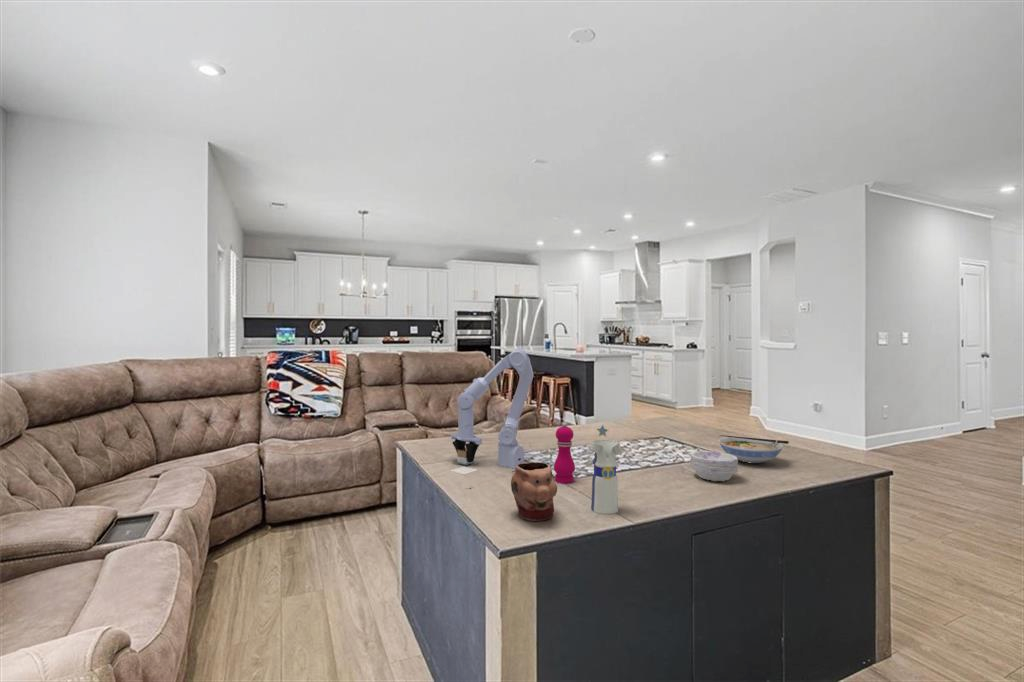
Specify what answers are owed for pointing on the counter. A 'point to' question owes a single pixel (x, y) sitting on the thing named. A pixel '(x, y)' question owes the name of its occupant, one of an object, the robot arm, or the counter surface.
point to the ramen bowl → (751, 448)
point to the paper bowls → (714, 465)
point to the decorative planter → (534, 490)
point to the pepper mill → (564, 455)
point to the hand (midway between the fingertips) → (466, 460)
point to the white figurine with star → (605, 475)
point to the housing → (463, 456)
